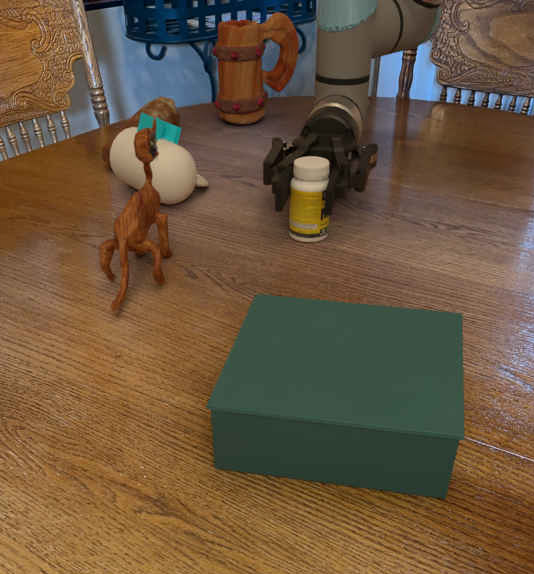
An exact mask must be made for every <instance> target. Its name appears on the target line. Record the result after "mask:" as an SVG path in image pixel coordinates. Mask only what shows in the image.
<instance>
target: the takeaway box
mask: <svg viewBox="0 0 534 574" xmlns="http://www.w3.org/2000/svg"><path fill="white" fill-rule="evenodd" d="M463 323H464V322H463V313H462V312H453V311H443V310H432V309H422V308H421V309H420V308H411V307H401V306H399V307H398V306H391V305H390V306H389V305H378V304H369V303H366V304H365V303H359V302H358V303H357V302H348V301H335V300H325V299H316V298H305V297H295V296H294V297H293V296H283V295H273V294H263V293H262V294H261V293H255V294H254V296H253V299H252V302H251V304H250V306H249V308H248V311H247V313H246V315H245V317H244V320H243V322H242V324H241V327H240V328H239V331H238V333H237V335H236V338H235V339H234V342H233V344H232V347H231V349H230V351H229V354H228V356H227V358H226V359H225V362H224V365H223V367H222V369H221V372H220V373H219V376H218V378H217V380H216V383H215V385H214V387H213V389H212V391H211V394H210V396H209V399H208V400H207V403H206V404H205V405H206V410H207V411H210V421H211V435H212V450H213V451H212V452H213V464H214V465H213V466H214V469H217V470H223V471H232V472H239V473H247V474H253V475H254V474H255V475H262V476H270V477H277V478H284V479H292V480H299V481H307V482H314V483H322V484H323V483H324V484H330V485H338V486H345V487H352V488H360V489H367V490H374V491H381V492H390V493H397V494H403V495H404V494H405V495H412V496H413V495H414V496H421V497H428V498H429V497H430V498H434V499H435V498H436V499H443V500H446V498H447V495H448V491H449V487H450V483H451V478H452V475H453V470H454V465H455V462H456V457H457V452H458V448H459V444H460V441H464V439H465V400H464V399H465V393H464V392H465V390H464V388H465V386H464V385H465V383H464V331H463V330H464V328H463V325H464V324H463Z"/></svg>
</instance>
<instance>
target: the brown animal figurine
mask: <svg viewBox="0 0 534 574" xmlns="http://www.w3.org/2000/svg"><path fill="white" fill-rule="evenodd" d="M156 142H157V139H156V119H155V118H154V119H153V126H152V128H148V127H146V128H144V129H141V130H139V131H138V132H137V133H136V134H135V138H134V149H135V155H136V157H137V158H138V160H139V161H141V162H143V164H144V166H143V168H144V172H145V176H146V181H145V184H144V186H143V187H142V188H141V189H140V190H137V191H136V192H133V194H132V195H131V196H130V198H129V199H128V201H127V203H126V205H124V208H123V209H122V211H121V212H120V213H119V215H118V216H117V217H116V218H115V219H114V221H113V226H112V230H113V238H109V239H106V240H104V241H102V242H101V243H100V245H99V247H98V254H99V266H100V269H101V270H102V272H103V274H104V275H105V276H106V278H107V280H109V281H110V282H111V283H113V282H114V281H115V279H116V274H115V273H113V271H112V268H111V262H112V259H113V257H114V253H115V251H119V252H118V253H119V261H120V283H119V286H118V287H119V289H118V291H117V294H116V296H115V298H114V300H113V302H112V304H111V306H110V311H111V312H118V310H119V309H120V307H121V306H122V305H123V303H124V301H125V299H126V296H127V294H128V289H129V282H130V281H129V280H130V258H129V252H131V253H134V255H136V256H139V257H142V256H144V255H145V254H146V253H147V252H148V253H151V254H152V255H151V256H152V276H153V278H154V280H155V281H156V284H157V285H158V286H160V285H162V284H163V283H164V282H165V281H166V276H165V275H164V271H163V268H162V262H163V258H169V257H172V255H173V254H174V253H173V251H171V248H170V240H169V238H170V237H169V225H168V224H169V223H168V221H169V220H168V219H169V214H167V213H165V212H160V207H161V206H160V205H161V202H160V199H161V198H160V194H159V192H158V191H157V190H156V189H155V188H154V187H153V186H152V177H153V174H152V170H151V167H150V163H151V162H153V160H154V159H155V160H158V154H159V153H158V151H157V145H156ZM154 224H155V225H156V228H157V231H158V242H156V241H153V240H152V239H149V238H148V234H149V231H150V230H151V227H152V225H154Z"/></svg>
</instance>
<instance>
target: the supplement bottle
mask: <svg viewBox="0 0 534 574" xmlns="http://www.w3.org/2000/svg"><path fill="white" fill-rule="evenodd" d="M293 172H294V176H295V177H293V178H292V180H291V182H290V196H289V217H288V234H289V236H290V238H292V239H293V240H295V241H297V242H302V243H317V242H321V241H323V240H325V239H327V238H328V235H329V230H330V216H328V215H324V207H325V190H326V187H327V184H328V182H329V179H330V174H329V161H328V160H327V159H325V158H322V157H315V156H308V157H301V158H298V159H296V160H295V161H294V170H293Z"/></svg>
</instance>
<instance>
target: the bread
mask: <svg viewBox="0 0 534 574" xmlns="http://www.w3.org/2000/svg"><path fill="white" fill-rule="evenodd" d="M141 112H142V113H145V114H147V115H149V116H152V117H154V118H161V120H162V121H165V122H167V123H170V124H172V125H175V126H178V127H180V123H181V116H180V114H179V111H178V109H177V107H176V102H175V100H174V99H172V98H171V97H170V98H169V97H167V96H158V97H156V98H153V99H152V100H150V101H148V102H146V103H145V104H144V105H143V106H141V108H140V109H139V110H137V111H136V112H135V113H134V114H133V115H132V116H131V117H130V118H129V119H127V120H126V121H125V122H124V124H123V125H122V126H120V127H119V129H118V130H116V131H115V132H114V134H113V135H112V136H110V138H109V139H108V140H107V141H106V142H105V144H104V145H102V148H101V159H102V161H104V163H105V165H107V166H108V167H110V168H111V163H110V149H111V147H112V144H113V141H114V140H115V138H116V137H117V135H118V134H119V133H121V132H122V131H123V130H125V129H127V128H131V127H138V124H139V120H140V116H141Z"/></svg>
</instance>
